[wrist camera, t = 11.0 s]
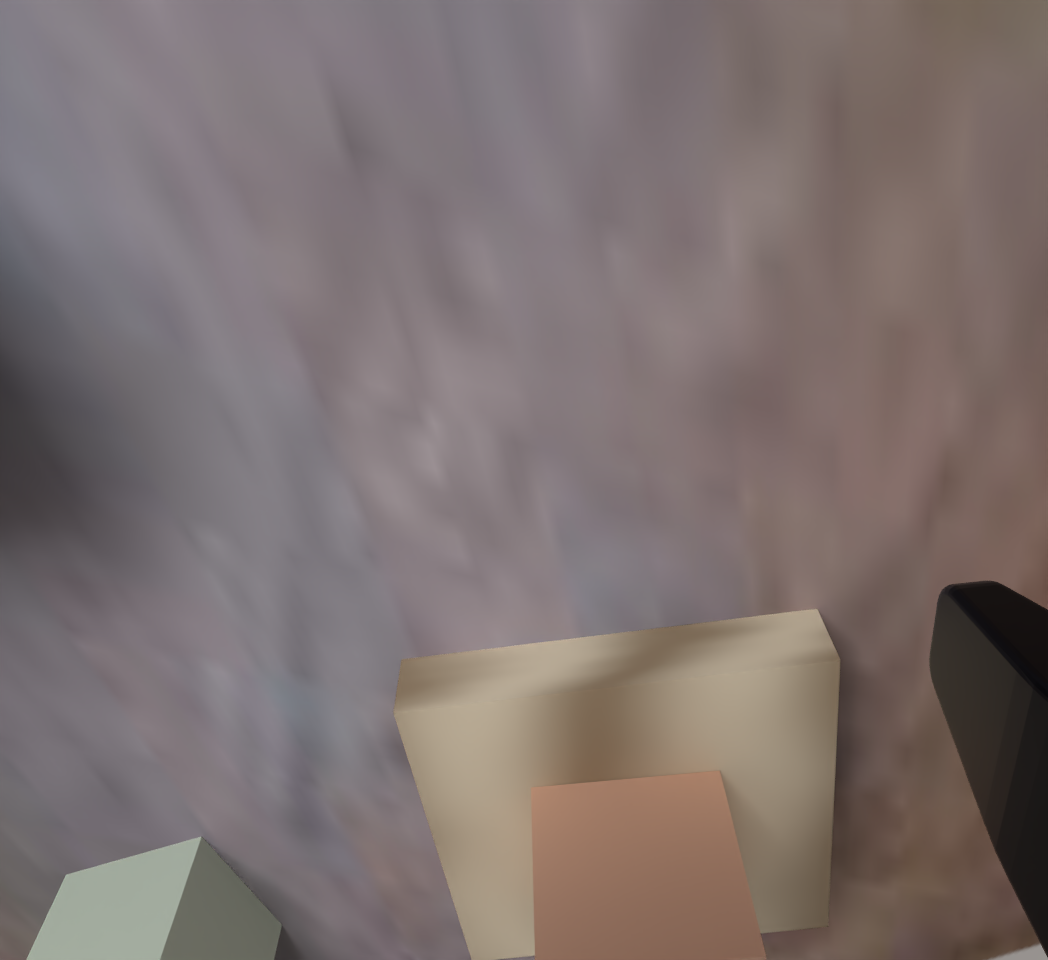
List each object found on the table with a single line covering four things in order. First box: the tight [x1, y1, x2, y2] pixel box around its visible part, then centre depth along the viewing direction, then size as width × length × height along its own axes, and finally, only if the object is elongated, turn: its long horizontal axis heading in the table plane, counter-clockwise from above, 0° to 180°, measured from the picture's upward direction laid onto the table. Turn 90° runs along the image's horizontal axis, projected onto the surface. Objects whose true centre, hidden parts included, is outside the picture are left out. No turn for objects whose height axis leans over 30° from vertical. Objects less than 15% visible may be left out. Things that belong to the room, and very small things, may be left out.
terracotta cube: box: [531, 771, 766, 960], centre depth 23 cm, size 5×5×5 cm
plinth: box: [393, 609, 840, 960], centre depth 26 cm, size 11×11×2 cm
